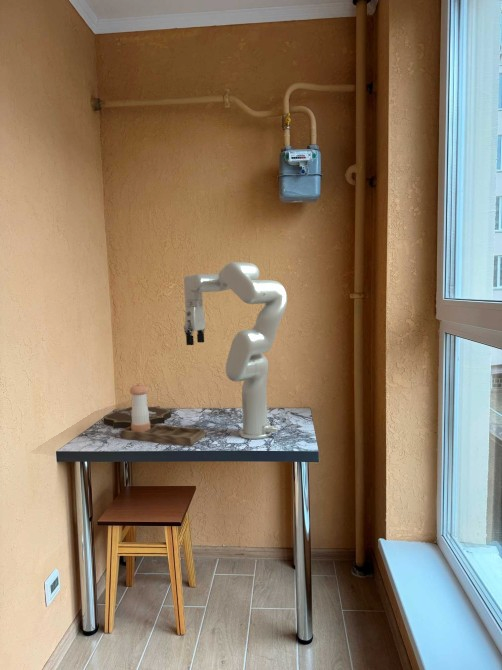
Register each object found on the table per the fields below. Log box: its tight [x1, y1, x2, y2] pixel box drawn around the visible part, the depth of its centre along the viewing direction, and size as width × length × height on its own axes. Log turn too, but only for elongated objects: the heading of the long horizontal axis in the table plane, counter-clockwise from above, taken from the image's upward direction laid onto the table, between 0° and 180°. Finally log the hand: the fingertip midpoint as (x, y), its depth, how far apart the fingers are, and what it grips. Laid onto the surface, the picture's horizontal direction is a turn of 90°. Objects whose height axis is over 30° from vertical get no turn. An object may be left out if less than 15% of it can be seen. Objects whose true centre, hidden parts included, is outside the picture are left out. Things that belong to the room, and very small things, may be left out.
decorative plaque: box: [103, 405, 172, 430], centre depth 206 cm, size 30×3×30 cm
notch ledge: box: [119, 424, 206, 447], centre depth 179 cm, size 31×11×3 cm, turn 68°
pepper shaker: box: [129, 383, 151, 432], centre depth 182 cm, size 7×7×19 cm
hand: (195, 343), depth 201 cm, fingers open, 9 cm apart
